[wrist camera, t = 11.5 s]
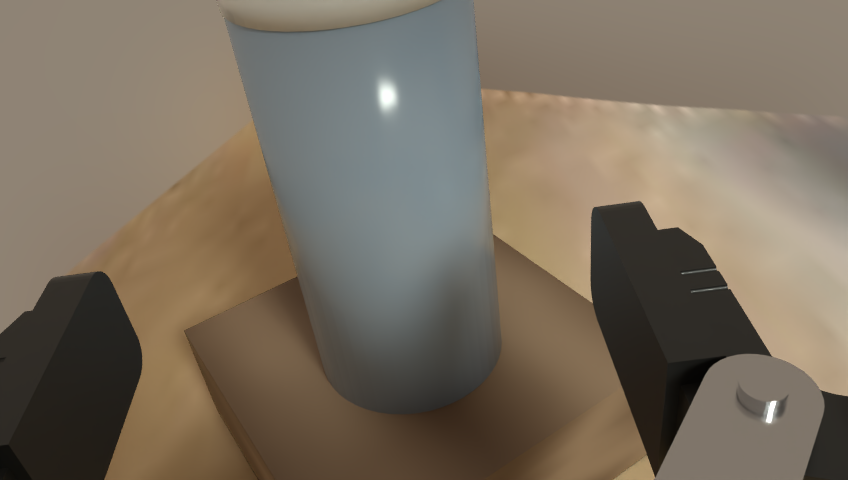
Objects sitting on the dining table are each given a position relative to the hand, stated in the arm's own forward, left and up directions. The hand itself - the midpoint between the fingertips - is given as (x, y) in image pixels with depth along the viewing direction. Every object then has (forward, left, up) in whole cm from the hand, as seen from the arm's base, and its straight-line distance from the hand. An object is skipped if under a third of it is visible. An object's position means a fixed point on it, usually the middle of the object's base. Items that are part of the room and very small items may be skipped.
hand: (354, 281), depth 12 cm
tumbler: (-4, -6, -8) cm, 11 cm away
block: (-4, -6, -12) cm, 14 cm away
